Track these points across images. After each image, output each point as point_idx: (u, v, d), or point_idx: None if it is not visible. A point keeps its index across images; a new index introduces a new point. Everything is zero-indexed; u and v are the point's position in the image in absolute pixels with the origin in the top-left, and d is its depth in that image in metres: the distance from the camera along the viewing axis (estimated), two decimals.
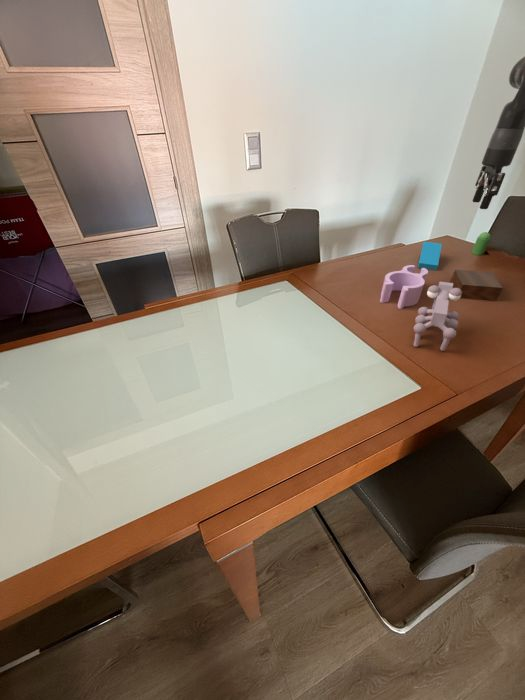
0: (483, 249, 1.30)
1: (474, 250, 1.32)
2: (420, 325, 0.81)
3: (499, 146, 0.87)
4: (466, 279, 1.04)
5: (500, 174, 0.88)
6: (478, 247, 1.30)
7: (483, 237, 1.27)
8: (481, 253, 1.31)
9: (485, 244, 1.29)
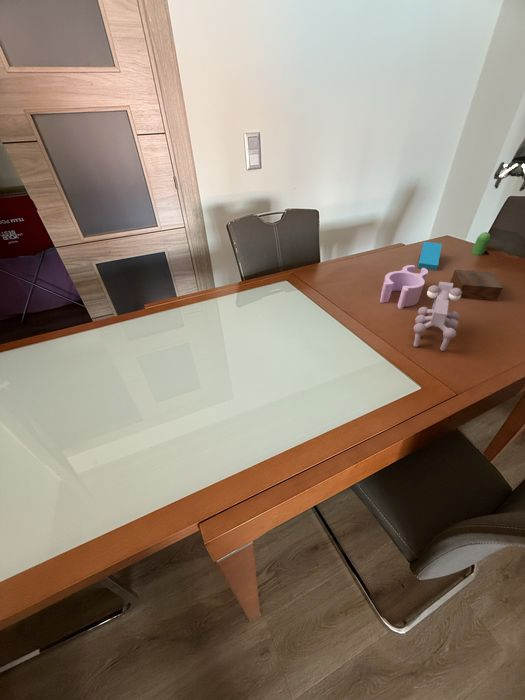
0: (483, 249, 1.30)
1: (474, 250, 1.32)
2: (420, 325, 0.81)
3: None
4: (466, 279, 1.04)
5: None
6: (478, 247, 1.30)
7: (483, 237, 1.27)
8: (481, 253, 1.31)
9: (485, 244, 1.29)
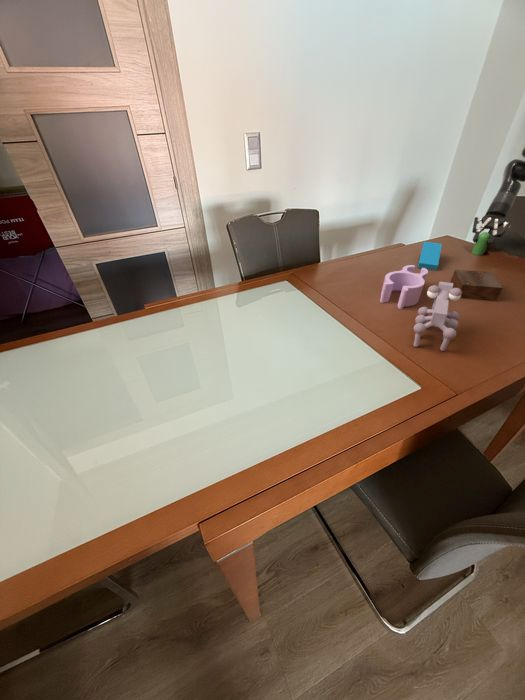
0: (483, 249, 1.30)
1: (474, 250, 1.32)
2: (420, 325, 0.81)
3: None
4: (466, 279, 1.04)
5: None
6: (478, 247, 1.30)
7: (483, 237, 1.27)
8: (481, 253, 1.31)
9: (485, 244, 1.29)
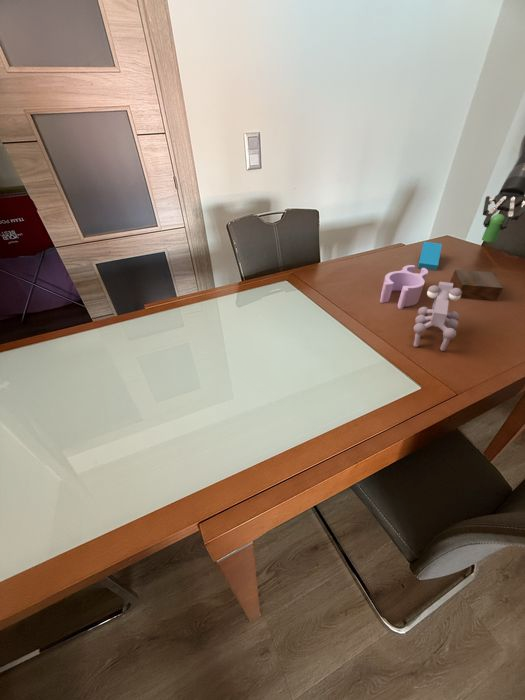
0: (496, 235, 1.07)
1: (485, 236, 1.09)
2: (420, 325, 0.81)
3: None
4: (466, 279, 1.04)
5: None
6: (490, 233, 1.08)
7: (496, 220, 1.05)
8: (493, 240, 1.08)
9: (499, 228, 1.06)
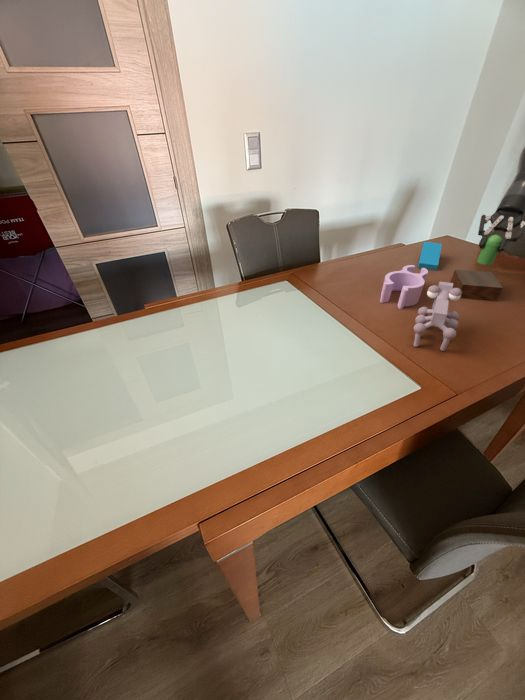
0: (492, 257, 0.98)
1: (480, 258, 1.00)
2: (420, 325, 0.81)
3: None
4: (466, 279, 1.04)
5: None
6: (486, 255, 0.98)
7: (493, 241, 0.96)
8: (490, 262, 0.99)
9: (495, 251, 0.97)
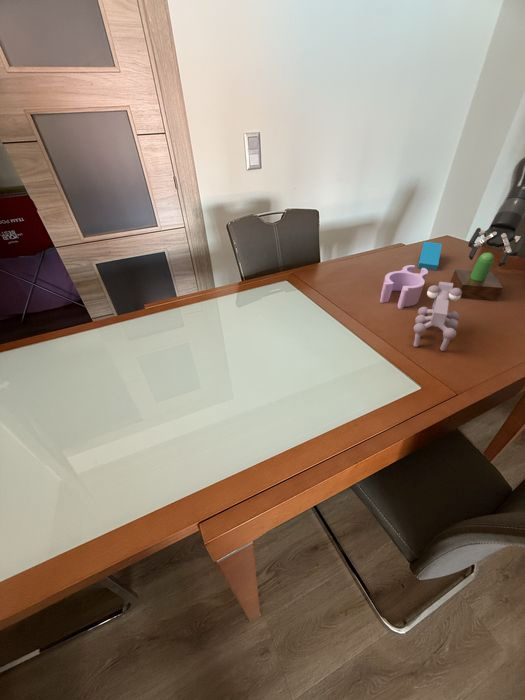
0: (485, 274, 1.02)
1: (473, 275, 1.04)
2: (420, 325, 0.81)
3: None
4: (466, 279, 1.04)
5: None
6: (478, 272, 1.02)
7: (485, 259, 0.99)
8: (482, 279, 1.03)
9: (487, 268, 1.00)
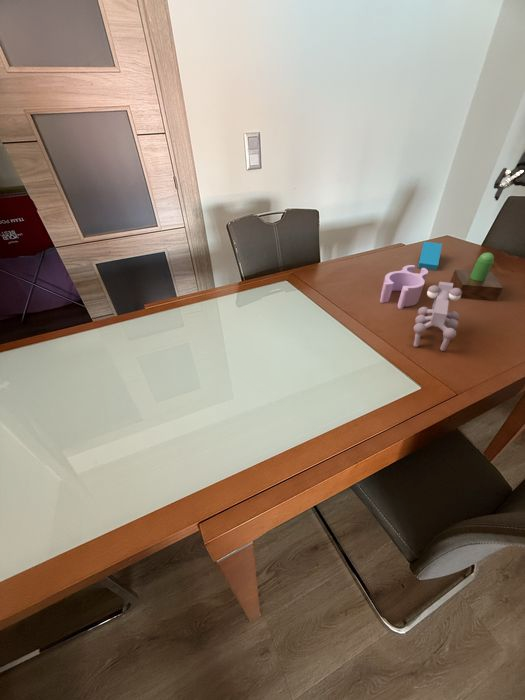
0: (485, 274, 1.02)
1: (473, 275, 1.04)
2: (420, 325, 0.81)
3: None
4: (466, 279, 1.04)
5: None
6: (478, 272, 1.02)
7: (485, 259, 0.99)
8: (482, 279, 1.03)
9: (487, 268, 1.00)
